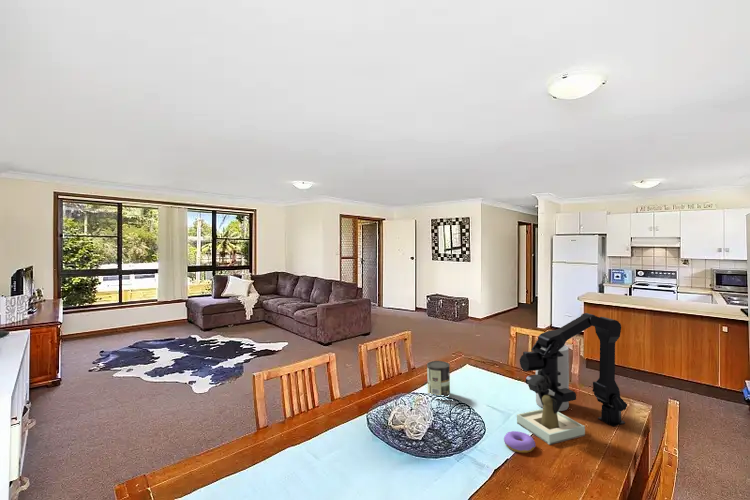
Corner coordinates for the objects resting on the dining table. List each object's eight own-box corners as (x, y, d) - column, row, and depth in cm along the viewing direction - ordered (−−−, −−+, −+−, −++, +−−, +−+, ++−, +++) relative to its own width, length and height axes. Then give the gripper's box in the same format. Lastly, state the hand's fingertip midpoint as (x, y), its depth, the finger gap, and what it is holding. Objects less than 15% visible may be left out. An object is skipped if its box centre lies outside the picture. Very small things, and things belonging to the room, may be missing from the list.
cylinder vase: (570, 402, 158) (569, 344, 157) (567, 414, 147) (566, 352, 146) (538, 396, 164) (537, 340, 164) (533, 407, 154) (533, 348, 153)
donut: (503, 451, 123) (503, 435, 124) (504, 442, 131) (504, 428, 132) (536, 457, 119) (535, 440, 120) (535, 447, 128) (534, 433, 128)
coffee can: (447, 390, 173) (447, 360, 173) (452, 399, 163) (451, 368, 163) (426, 390, 174) (425, 360, 173) (428, 399, 163) (428, 368, 163)
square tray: (550, 415, 146) (549, 407, 146) (584, 435, 131) (584, 426, 131) (517, 423, 141) (517, 414, 141) (549, 444, 126) (549, 434, 126)
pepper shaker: (561, 429, 133) (560, 399, 132) (543, 428, 134) (542, 398, 133) (556, 421, 138) (556, 392, 138) (539, 420, 140) (538, 391, 139)
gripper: (513, 363, 142) (514, 403, 142) (551, 380, 124) (552, 426, 125) (537, 359, 145) (537, 398, 146) (577, 375, 128) (577, 420, 128)
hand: (549, 410), depth 136 cm, fingers closed on pepper shaker, 5 cm apart
